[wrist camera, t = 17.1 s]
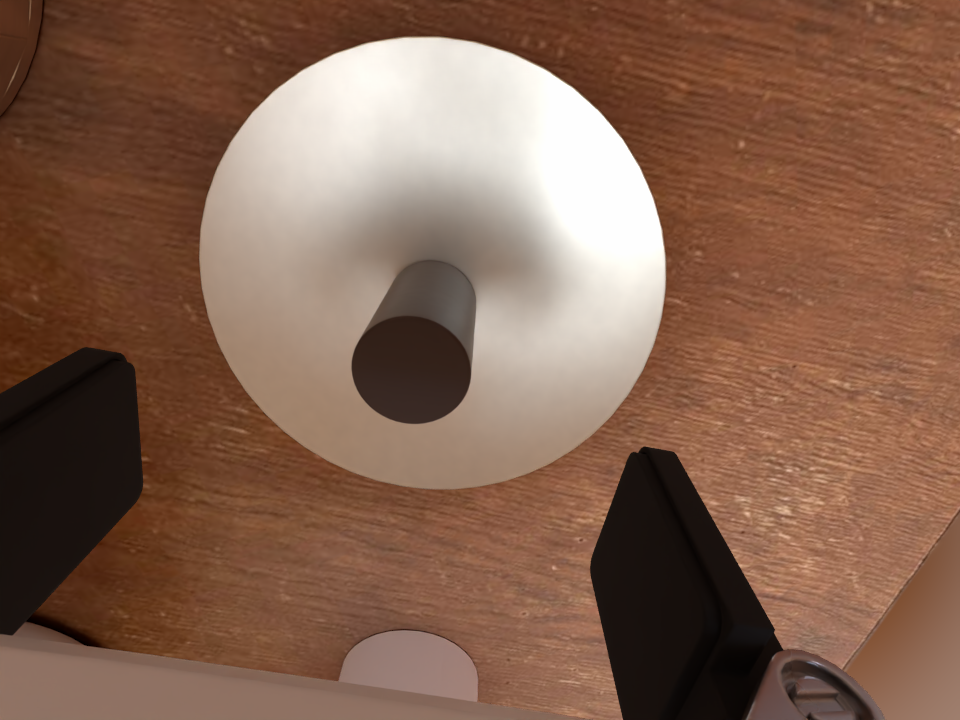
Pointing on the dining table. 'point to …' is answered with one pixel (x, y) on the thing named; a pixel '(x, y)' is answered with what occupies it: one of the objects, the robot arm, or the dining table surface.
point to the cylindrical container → (412, 665)
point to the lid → (432, 262)
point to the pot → (17, 44)
